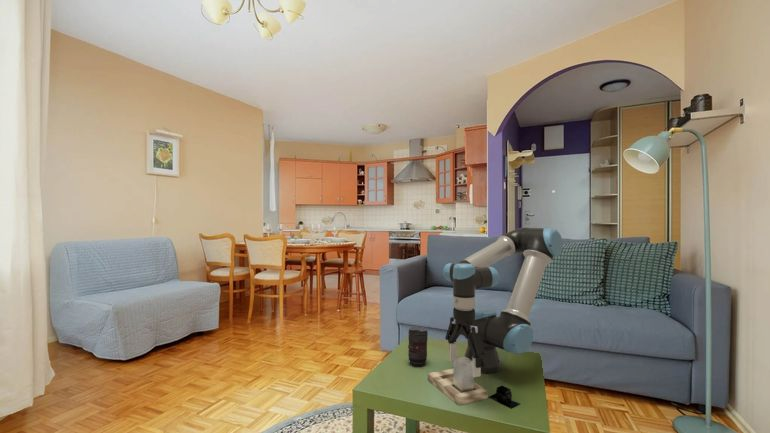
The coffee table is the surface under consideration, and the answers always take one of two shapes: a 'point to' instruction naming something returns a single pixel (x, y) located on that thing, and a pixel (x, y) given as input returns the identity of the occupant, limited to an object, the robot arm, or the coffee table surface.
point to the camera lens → (417, 346)
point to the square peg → (463, 374)
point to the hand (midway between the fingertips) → (464, 368)
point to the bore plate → (445, 384)
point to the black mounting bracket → (504, 397)
